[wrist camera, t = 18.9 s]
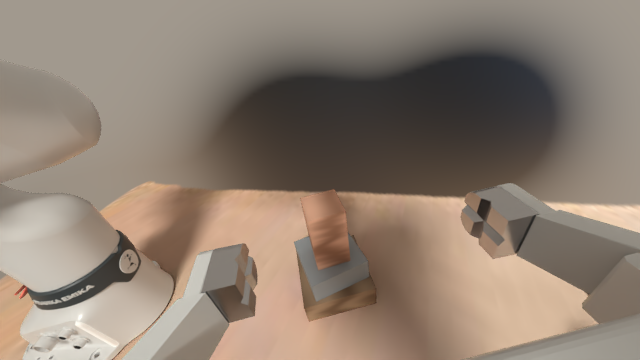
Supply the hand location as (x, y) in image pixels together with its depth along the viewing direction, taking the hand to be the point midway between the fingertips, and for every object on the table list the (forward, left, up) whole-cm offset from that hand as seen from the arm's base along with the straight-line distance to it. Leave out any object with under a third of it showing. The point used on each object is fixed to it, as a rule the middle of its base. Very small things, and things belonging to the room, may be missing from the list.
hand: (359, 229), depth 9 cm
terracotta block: (0, +18, -24) cm, 30 cm away
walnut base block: (-1, +19, -32) cm, 37 cm away
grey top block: (-1, +19, -28) cm, 34 cm away
